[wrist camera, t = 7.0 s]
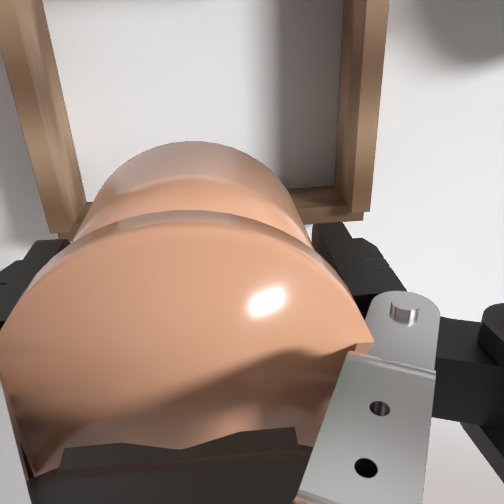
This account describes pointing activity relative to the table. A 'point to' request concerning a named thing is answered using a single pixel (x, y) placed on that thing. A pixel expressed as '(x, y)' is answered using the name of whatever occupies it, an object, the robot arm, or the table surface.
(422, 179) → the table surface
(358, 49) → the frame
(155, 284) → the peach round knob
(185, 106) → the table surface
